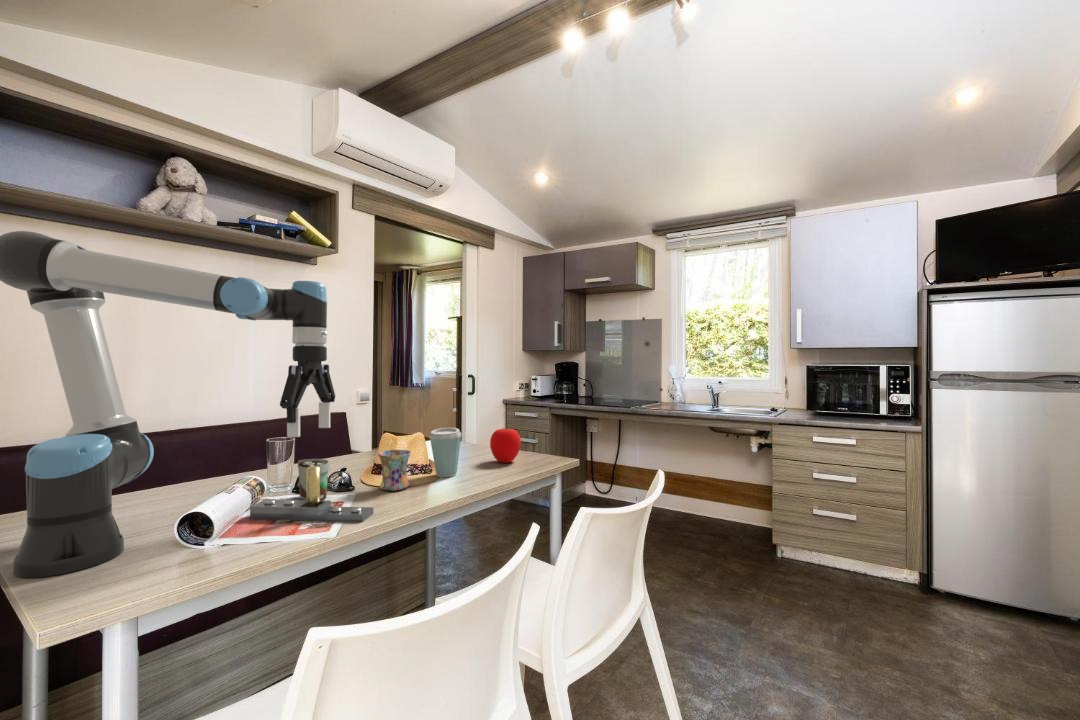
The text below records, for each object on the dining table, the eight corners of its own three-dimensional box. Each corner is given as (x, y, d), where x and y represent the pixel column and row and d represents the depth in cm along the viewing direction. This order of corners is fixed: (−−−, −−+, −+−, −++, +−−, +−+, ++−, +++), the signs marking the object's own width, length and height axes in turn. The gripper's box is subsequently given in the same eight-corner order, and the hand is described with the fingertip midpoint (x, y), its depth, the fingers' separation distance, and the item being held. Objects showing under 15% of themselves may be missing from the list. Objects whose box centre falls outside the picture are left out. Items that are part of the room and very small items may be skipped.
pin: (316, 518, 115) (315, 469, 115) (304, 518, 115) (303, 468, 115) (322, 514, 118) (322, 466, 118) (310, 514, 118) (310, 466, 118)
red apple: (486, 464, 170) (486, 429, 170) (494, 458, 181) (494, 424, 181) (517, 466, 168) (517, 430, 168) (523, 459, 179) (523, 425, 179)
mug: (416, 488, 141) (416, 452, 140) (387, 494, 134) (387, 457, 134) (397, 480, 149) (396, 447, 149) (368, 486, 142) (368, 451, 142)
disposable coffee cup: (458, 479, 150) (458, 432, 150) (425, 479, 150) (424, 432, 150) (464, 471, 161) (464, 427, 161) (433, 471, 161) (432, 427, 161)
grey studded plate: (373, 513, 118) (373, 499, 118) (362, 521, 112) (362, 507, 112) (266, 511, 120) (265, 497, 120) (250, 519, 114) (249, 504, 114)
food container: (338, 499, 130) (338, 463, 130) (315, 504, 125) (315, 467, 125) (320, 490, 138) (319, 456, 138) (297, 495, 134) (297, 460, 134)
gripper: (294, 344, 103) (294, 441, 103) (348, 346, 128) (348, 424, 128) (261, 344, 104) (261, 440, 104) (322, 346, 129) (322, 424, 129)
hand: (310, 432), depth 116 cm, fingers open, 13 cm apart
